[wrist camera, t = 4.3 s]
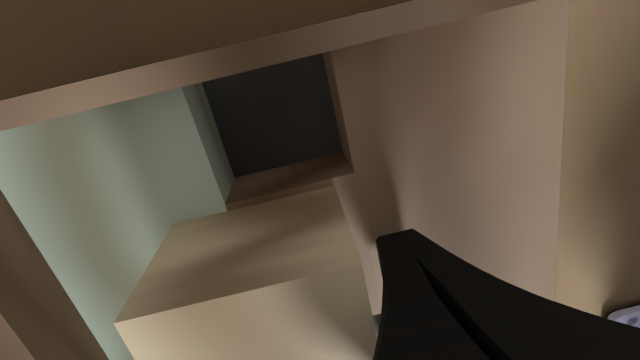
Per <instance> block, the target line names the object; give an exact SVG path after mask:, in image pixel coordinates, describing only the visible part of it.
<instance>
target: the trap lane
mask: <svg viewBox="0 0 640 360" xmlns="http://www.w3.org/2000/svg"><path fill="white" fill-rule="evenodd" d="M569 1H570V0H412V1H408V2H404V3H400V4H396V5H392V6H388V7H383V8H379V9H375V10H371V11H367V12H363V13H359V14H355V15H351V16H346V17H342V18H338V19H334V20H330V21H326V22H322V23H318V24H314V25H309V26H305V27H301V28H297V29H293V30H289V31H285V32H281V33H276V34H272V35H268V36H264V37H260V38H256V39H252V40H248V41H244V42H239V43H235V44H231V45H227V46H223V47H219V48H215V49H211V50H207V51H202V52H198V53H194V54H190V55H186V56H182V57H178V58H174V59H170V60H165V61H161V62H157V63H153V64H149V65H145V66H141V67H137V68H133V69H128V70H124V71H120V72H116V73H112V74H108V75H104V76H100V77H96V78H91V79H87V80H83V81H79V82H75V83H71V84H67V85H63V86H59V87H54V88H50V89H46V90H42V91H38V92H34V93H30V94H26V95H22V96H17V97H13V98H9V99H5V100H1V101H0V360H134V358H133V356H132V355H131V353H130V351H129V349H128V348H127V346H126V344H125V343H124V341H123V339H122V338H121V336H120V334H119V332H118V331H117V329H116V327H115V326H114V324H113V323H114V321H115V320H116V318H117V316H118V315H119V313H120V311H121V310H122V308H123V306H124V305H125V303H126V301H127V300H128V298H129V297H130V295H131V293H132V292H133V290H134V288H135V287H136V285H137V283H138V282H139V280H140V278H141V277H142V275H143V273H144V272H145V270H146V268H147V267H148V265H149V263H150V262H151V260H152V258H153V257H154V255H155V253H156V252H157V250H158V248H159V247H160V245H161V243H162V242H163V240H164V238H165V237H166V235H167V233H168V232H169V230H170V228H171V227H172V225H173V224H176V223H180V222H184V221H188V220H193V219H197V218H201V217H205V216H209V215H214V214H218V213H222V212H226V211H231V210H235V209H239V208H243V207H247V206H252V205H256V204H260V203H264V202H268V201H273V200H277V199H281V198H285V197H289V196H294V195H298V194H302V193H306V192H310V191H315V190H319V189H323V188H327V187H332V186H335V189H336V192H337V195H338V197H339V200H340V203H341V206H342V209H343V212H344V214H345V217H346V220H347V223H348V226H349V229H350V231H351V234H352V237H353V240H354V243H355V246H356V248H357V251H358V254H359V257H360V260H361V263H362V267H363V271H364V276H365V281H366V286H367V291H368V296H369V301H370V306H371V311H372V316H373V321H374V326H375V331H376V336H377V337H378V331H379V324H380V317H381V308H382V292H383V279H382V273H381V268H380V263H379V257H378V252H377V247H376V239H377V238H378V237H379V236H383V235H387V234H391V233H395V232H399V231H403V230H408V229H412V228H413V229H415V230H416V231H418V232H419V233H421V234H422V235H424V236H425V237H427V238H429V239H430V240H432V241H433V242H435V243H436V244H438V245H440V246H441V247H443V248H444V249H446V250H447V251H449V252H451V253H452V254H454V255H456V256H458V257H459V258H461V259H463V260H464V261H466V262H468V263H470V264H472V265H473V266H475V267H477V268H479V269H481V270H483V271H485V272H487V273H489V274H491V275H493V276H495V277H497V278H499V279H501V280H503V281H505V282H508V283H510V284H512V285H514V286H517V287H519V288H522V289H524V290H526V291H529V292H531V293H533V294H536V295H538V296H541V297H544V298H546V299H549V300H552V301H554V302H555V284H556V263H557V243H558V223H559V203H560V183H561V162H562V142H563V122H564V102H565V82H566V61H567V41H568V21H569Z"/></svg>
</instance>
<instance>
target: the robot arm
mask: <svg viewBox="0 0 640 360" xmlns="http://www.w3.org/2000/svg"><path fill="white" fill-rule="evenodd" d="M376 247H377V252H378V257H379V263H380V268H381V273H382V279H383V292H382V308H381V317H380V324H379V331H378V337H377V342H376V347H375V352H374V356H373V360H640V305H638V306H634V307H630V308H626V309H622V310H618V311H615V312H613V313H611V314H610V315H609V316H608V318H607V319H606V318H603V317H599V316H596V315H593V314H590V313H586V312H583V311H580V310H577V309H575V308H572V307H569V306H566V305H563V304H560V303H557V302H554V301H552V300H549V299H546V298H544V297H541V296H538V295H536V294H533V293H531V292H529V291H526V290H524V289H522V288H519V287H517V286H514V285H512V284H510V283H508V282H505V281H503V280H501V279H499V278H497V277H495V276H493V275H491V274H489V273H487V272H485V271H483V270H481V269H479V268H477V267H475V266H473V265H472V264H470V263H468V262H466V261H464V260H463V259H461V258H459V257H458V256H456V255H454V254H452V253H451V252H449V251H447V250H446V249H444V248H443V247H441V246H440V245H438V244H436V243H435V242H433V241H432V240H430V239H429V238H427V237H425V236H424V235H422V234H421V233H419V232H418V231H416V230H415V229H413V228H412V229H408V230H403V231H399V232H395V233H391V234H387V235H383V236H379V237H378V238H377V239H376Z"/></svg>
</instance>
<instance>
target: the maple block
mask: <svg viewBox="0 0 640 360" xmlns="http://www.w3.org/2000/svg"><path fill="white" fill-rule="evenodd" d="M113 324H114V326H115V327H116V329H117V331H118V332H119V334H120V336H121V338H122V339H123V341H124V343H125V344H126V346H127V348H128V349H129V351H130V353H131V355H132V356H133V358H134V360H373V356H374V352H375V347H376V342H377V336H376V331H375V326H374V321H373V316H372V311H371V306H370V301H369V296H368V291H367V286H366V281H365V276H364V271H363V267H362V263H361V260H360V257H359V254H358V251H357V248H356V246H355V243H354V240H353V237H352V234H351V231H350V229H349V226H348V223H347V220H346V217H345V214H344V212H343V209H342V206H341V203H340V200H339V197H338V195H337V192H336V189H335V186H332V187H327V188H323V189H319V190H315V191H310V192H306V193H302V194H298V195H294V196H289V197H285V198H281V199H277V200H273V201H268V202H264V203H260V204H256V205H252V206H247V207H243V208H239V209H235V210H231V211H226V212H222V213H218V214H214V215H209V216H205V217H201V218H197V219H193V220H188V221H184V222H180V223H176V224H173V225H172V227H171V228H170V230H169V232H168V233H167V235H166V237H165V238H164V240H163V242H162V243H161V245H160V247H159V248H158V250H157V252H156V253H155V255H154V257H153V258H152V260H151V262H150V263H149V265H148V267H147V268H146V270H145V272H144V273H143V275H142V277H141V278H140V280H139V282H138V283H137V285H136V287H135V288H134V290H133V292H132V293H131V295H130V297H129V298H128V300H127V301H126V303H125V305H124V306H123V308H122V310H121V311H120V313H119V315H118V316H117V318H116V320H115V321H114V323H113Z"/></svg>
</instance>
